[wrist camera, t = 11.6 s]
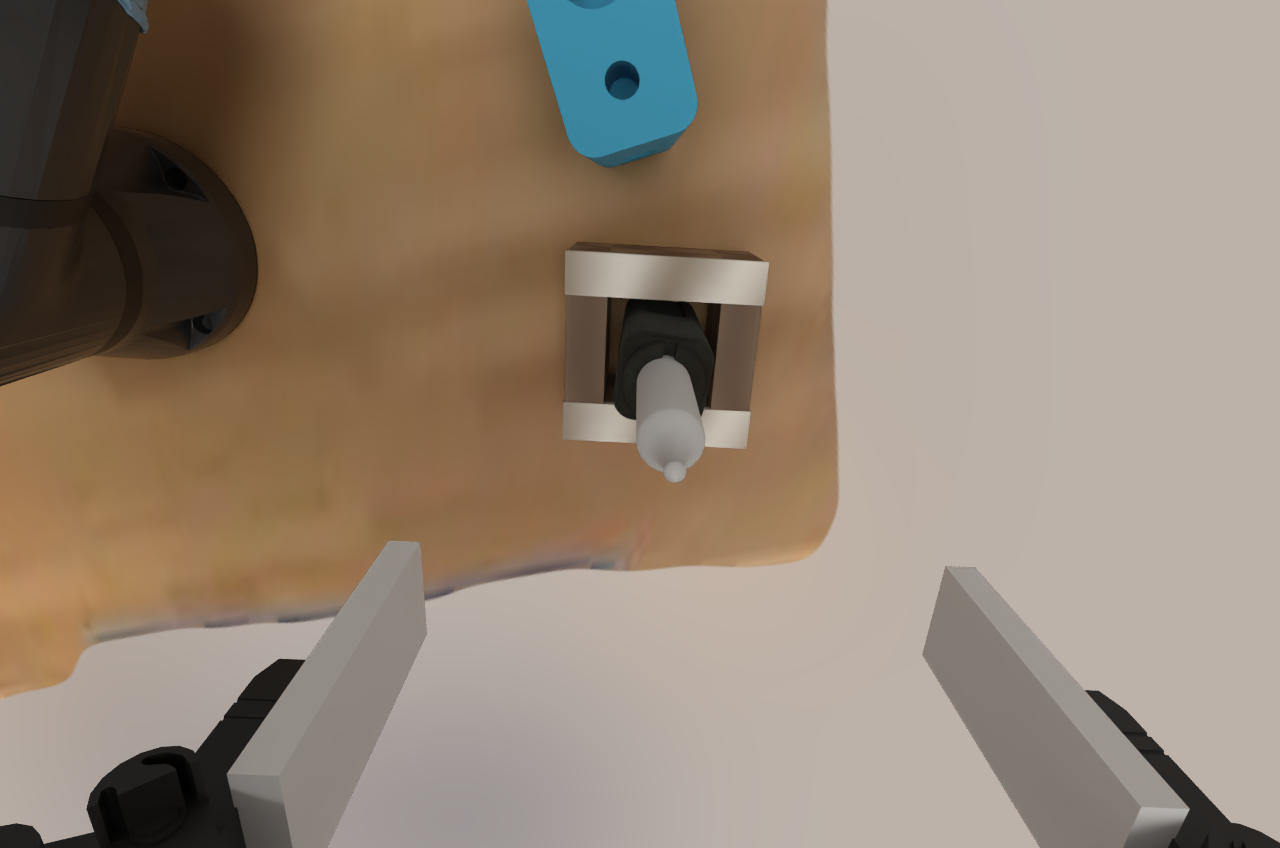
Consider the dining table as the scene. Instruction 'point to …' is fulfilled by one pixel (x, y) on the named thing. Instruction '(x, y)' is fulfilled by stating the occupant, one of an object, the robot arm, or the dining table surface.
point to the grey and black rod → (664, 382)
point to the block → (617, 75)
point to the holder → (673, 276)
